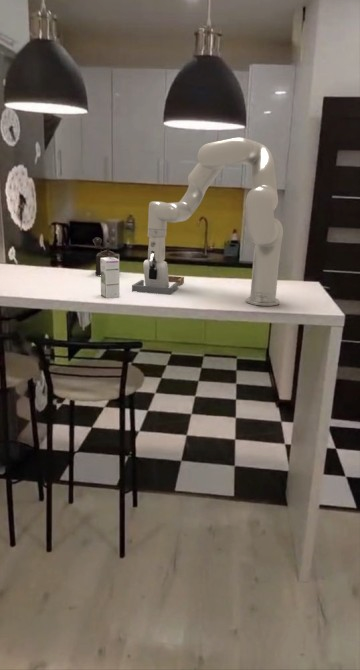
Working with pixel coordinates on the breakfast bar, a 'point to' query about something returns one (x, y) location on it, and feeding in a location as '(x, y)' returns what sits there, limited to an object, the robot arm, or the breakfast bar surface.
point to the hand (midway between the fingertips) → (154, 277)
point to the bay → (154, 288)
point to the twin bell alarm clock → (102, 254)
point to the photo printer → (161, 274)
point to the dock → (176, 279)
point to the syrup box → (109, 277)
